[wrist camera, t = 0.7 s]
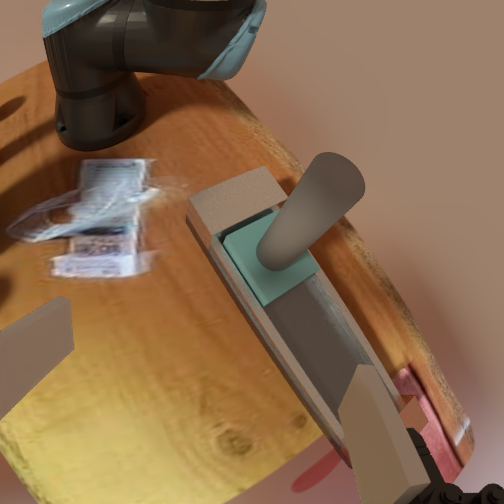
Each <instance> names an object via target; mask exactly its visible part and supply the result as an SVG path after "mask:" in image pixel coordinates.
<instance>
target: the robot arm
mask: <svg viewBox="0 0 504 504" xmlns="http://www.w3.org/2000/svg"><path fill="white" fill-rule="evenodd" d="M266 5H267V3H266V1H265V0H52V1H50V2H49V3H48V4H47V5H46V6H45V8H44V10H43V12H42V16H41V19H42V31H43V33H42V38H43V41H44V45H45V50H46V54H47V59H48V63H49V67H50V71H51V75H52V78H53V82H54V86H55V89H56V104H55V117H54V124H55V128H56V131H57V134H58V137H59V139H60V140H61V142H62V143H63V144H64V145H66V146H67V147H69V148H71V149H75V150H80V151H93V150H99V149H103V148H106V147H109V146H112V145H114V144H117V143H119V142H120V141H122V140H124V139H125V138H127V137H128V136H130V135H131V134H132V133H133V132H134V131H135V130H136V129H137V128H138V127H139V126H140V124H141V123H142V121H143V119H144V117H145V113H146V99H145V94H144V92H143V89H142V87H141V85H140V83H139V81H138V79H137V77H136V75H135V73H134V72H143V73H156V74H166V75H175V76H183V77H191V78H195V79H197V80H198V79H200V80H201V79H211V80H219V81H224V80H227V79H231V78H232V77H234V76H235V75H236V74H237V72H238V71H239V70H240V68H241V67H242V65H243V64H244V62H245V60H246V58H247V56H248V54H249V52H250V49H251V47H252V45H253V43H254V40H255V38H256V33H257V32H258V29H259V27H260V25H261V23H262V21H263V18H264V15H265V12H266ZM73 350H74V341H73V331H72V319H71V302H70V300H69V299H66V298H64V297H61V296H57V297H55V298H54V299H52V300H50V301H49V302H47V303H45V304H44V305H42V306H40V307H39V308H37V309H35V310H34V311H32V312H30V313H29V314H27V315H25V316H24V317H22V318H21V319H19V320H17V321H16V322H14V323H13V324H11V325H9V326H8V327H6V328H5V329H3V330H2V331H0V420H1V419H2V418H3V417H4V416H5V415H6V414H7V413H8V412H9V411H10V410H11V409H12V408H13V407H14V406H15V405H16V404H17V403H18V402H19V401H20V400H21V399H22V398H23V397H24V396H25V395H26V394H27V393H28V392H29V391H30V390H31V389H32V388H33V387H34V386H35V385H37V384H38V383H39V382H40V381H41V380H42V379H43V378H44V377H45V376H46V375H47V374H48V373H49V372H50V371H51V370H52V369H53V368H54V367H56V366H57V365H58V364H59V363H60V362H61V361H62V360H63V359H64V358H65V357H66V356H67V355H68V354H70V353H71V352H72V351H73ZM338 414H339V418H340V421H341V425H342V429H343V433H344V437H345V440H346V444H347V448H348V452H349V456H350V460H351V464H352V468H353V472H354V476H355V481H356V485H357V489H358V494H359V498H360V502H361V504H504V489H503V488H502V487H501V486H499V485H497V484H488V485H487V486H485V487H484V488H483V489H482V490H481V491H480V492H479V493H463V491H462V490H461V489H460V488H459V487H458V486H456V485H454V484H451V483H445V481H444V479H443V477H442V475H441V473H440V471H439V469H438V467H437V465H436V463H435V461H434V459H433V457H432V455H430V451H429V449H428V447H426V446H427V445H426V443H425V441H424V439H423V437H422V436H421V435H420V434H419V433H418V432H417V431H416V430H415V429H414V428H405V426H404V423H403V421H402V419H401V417H400V415H399V413H398V411H397V409H396V407H395V405H394V403H393V402H392V400H391V398H390V396H389V394H388V392H387V390H386V388H385V386H384V384H383V382H382V380H381V378H380V376H379V375H378V373H377V371H376V369H375V367H374V365H363V364H358V366H357V368H356V371H355V373H354V375H353V378H352V380H351V382H350V384H349V387H348V389H347V391H346V393H345V395H344V398H343V400H342V402H341V404H340V406H339V408H338Z"/></svg>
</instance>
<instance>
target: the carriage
mask: <svg viewBox="0 0 504 504" xmlns="http://www.w3.org/2000/svg"><path fill="white" fill-rule="evenodd" d="M364 192H365V183H364V179H363V176H362V175H361V173H360V171H359V170H358V168H357V167H356V166H355V165H354V164H353V163H352V162H351V161H350V160H348V159H347V158H345V157H343V156H341V155H339V154H336V153H331V152H325V153H321V154H319V155H317V156H316V157H315V158H314V159H313V161H312V162H311V164H310V165H309V167H308V168H307V170H306V171H305V173H304V174H303V176H302V177H301V179H300V181H299V182H298V184H297V185H296V187H295V188H294V190H293V191H292V193H291V194H290V196H289V197H288V199H287V200H286V202H285V203H284V205H283V206H282V208H281V209H280V210H277V211H275V212H273V213H271V214H269V215H267V216H265V217H263V218H261V219H259V220H257V221H255V222H253V223H251V224H249V225H247V226H245V227H243V228H241V229H239V230H237V231H235V232H233V233H231V234H229V235H227V236H226V238H225V240H224V243H223V245H222V246H223V248H224V249H225V251H226V252H227V254H228V256H229V257H230V259H231V260H232V262H233V263H234V265H235V267H236V268H237V270H238V271H239V273H240V274H241V276H242V277H243V279H244V281H245V282H246V284H247V285H248V287H249V288H250V290H251V291H252V293H253V295H254V296H255V298H256V299H257V301H258V302H259V304H260V305H261V307H264V306H265V305H267V304H269V303H270V302H272V301H273V300H275V299H276V298H278V297H279V296H281V295H282V294H284V293H286V292H287V291H289V290H290V289H292V288H293V287H295V286H296V285H298V284H299V283H301V282H302V281H304V280H305V279H307V278H308V277H310V276H311V275H312V274H314V273H315V272H317V271H318V270H320V268H319V266H318V265H317V263H316V262H315V260H314V259H313V258H312V256H311V255H310V253H309V252H308V250H307V249H308V248H309V247H310V246H311V245H313V244H314V243H315V242H316V241H317V240H318V239H319V238H320V237H321V236H322V235H323V234H324V233H325V232H326V231H328V230H329V229H330V228H331V227H332V226H333V225H334V224H335V223H336V222H337V221H338V220H339V219H340V218H341V217H342V216H343V215H344V214H345V213H346V212H348V211H349V209H351V208H352V207H353V206H354V205H355V204H356V203H357V202H358V201H359V200H360V199H361V198H362V197H363V195H364Z"/></svg>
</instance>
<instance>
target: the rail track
mask: <svg viewBox="0 0 504 504" xmlns="http://www.w3.org/2000/svg"><path fill="white" fill-rule="evenodd" d="M287 199H288V196H287V195H286V193H285V192H284V191H283V189H282V188H281V187H280V185H279V184H278V183H277V181H276V180H275V179H274V177H273V176H272V175H271V173H270V172H269V171H268V169H267V168H266V167H265V165H264V166H261V167H259V168H256V169H253V170H251V171H248V172H246V173H243V174H241V175H238V176H236V177H233V178H231V179H228V180H226V181H224V182H221V183H219V184H216V185H214V186H212V187H209V188H207V189H205V190H202V191H200V192H198V193H195V194H193V195H191V196H189V197H188V202H187V214H186V224H187V225H188V227H189V229H190V230H191V232H192V234H193V235H194V237H195V239H196V240H197V242H198V244H199V245H200V247H201V249H202V250H203V252H204V254H205V255H206V257H207V258H208V260H209V262H210V263H211V265H212V267H213V268H214V270H215V272H216V273H217V275H218V276H219V278H220V280H221V281H222V283H223V284H224V286H225V288H226V289H227V291H228V292H229V294H230V296H231V297H232V299H233V300H234V302H235V303H236V305H237V307H238V308H239V310H240V311H241V313H242V314H243V316H244V317H245V319H246V321H247V322H248V324H249V325H250V327H251V328H252V330H253V331H254V333H255V334H256V336H257V337H258V339H259V340H260V342H261V343H262V345H263V347H264V348H265V350H266V351H267V353H268V354H269V356H270V357H271V359H272V360H273V361H274V363H275V364H276V366H277V367H278V369H279V370H280V372H281V373H282V375H283V376H284V378H285V379H286V381H287V382H288V384H289V385H290V386H291V388H292V389H293V391H294V392H295V394H296V395H297V397H298V398H299V399H300V401H301V402H302V404H303V405H304V407H305V408H306V409H307V411H308V412H309V414H310V415H311V416H312V418H313V419H314V421H315V422H316V423H317V425H318V426H319V428H320V429H321V430H322V432H323V433H324V435H325V436H326V437H327V439H328V440H329V441H330V443H331V444H332V445H333V447H334V448H335V450H336V451H337V452H338V454H339V455H340V456H341V458H342V459H343V460H344V461H345V463H346V464H347V466H348V467H349V468H351V469H353V468H352V464H351V460H350V456H349V452H348V448H347V444H346V440H345V437H344V433H343V429H342V425H341V421H340V418H339V414H338V408H339V406H340V404H341V402H342V400H343V398H344V395H345V393H346V391H347V389H348V387H349V384H350V382H351V380H352V378H353V375H354V373H355V371H356V368H357V366H358V364H363V365H374V367H375V369H376V371H377V373H378V375H379V376H380V378H381V380H382V382H383V384H384V386H385V388H386V390H387V392H388V394H389V396H390V398H391V400H392V402H393V403H394V405H395V407H396V409H397V411H398V413H399V415H400V417H401V419H402V421H403V423H404V426H405V428H414V429H415V430H416V431H417V432H418V433H420V432H421V431H422V429H423V428H424V427H425V426H426V424H427V423H428V422H429V421H428V419H427V417H426V415H425V413H424V412H423V410H422V408H421V406H420V404H419V402H418V400H417V398H416V397H415V395H400V394H399V392H398V390H397V389H396V387H395V385H394V384H393V382H392V380H391V378H390V377H389V375H388V373H387V372H386V370H385V368H384V367H383V365H382V363H381V362H380V360H379V358H378V357H377V355H376V353H375V352H374V350H373V348H372V347H371V345H370V343H369V342H368V340H367V339H366V337H365V335H364V334H363V332H362V331H361V329H360V327H359V326H358V324H357V323H356V321H355V319H354V318H353V316H352V315H351V313H350V312H349V310H348V308H347V307H346V305H345V304H344V302H343V301H342V299H341V298H340V296H339V294H338V293H337V291H336V290H335V288H334V287H333V285H332V284H331V282H330V281H329V279H328V278H327V276H326V275H325V273H324V272H323V270H322V269H321V267H320V266H319V264H318V263H317V261H316V260H315V258H314V257H313V255H312V254H311V252H310V251H309V249H307V250H308V252H309V253H310V255H311V256H312V258H313V259H314V260H315V262H316V263H317V265H318V266H319V268H320V270H318V271H317V272H315V273H314V274H312V275H311V276H310V277H308V278H307V279H305V280H304V281H302V282H301V283H299V284H298V285H296V286H295V287H293V288H292V289H290V290H289V291H287V292H286V293H284V294H282V295H281V296H279V297H278V298H276V299H275V300H273V301H272V302H270V303H269V304H267V305H265V306H264V307H261V305H260V304H259V302H258V301H257V299H256V298H255V296H254V295H253V293H252V291H251V290H250V288H249V287H248V285H247V284H246V282H245V281H244V279H243V277H242V276H241V274H240V273H239V271H238V270H237V268H236V267H235V265H234V263H233V262H232V260H231V259H230V257H229V256H228V254H227V252H226V251H225V249H224V248H223V246H222V245H223V243H224V240H225V238H226V236H227V235H229V234H231V233H233V232H235V231H237V230H239V229H241V228H243V227H245V226H247V225H249V224H251V223H253V222H255V221H257V220H259V219H261V218H263V217H265V216H267V215H269V214H271V213H273V212H275V211H277V210H280V209H281V208H282V206H283V205H284V203H285V202H286V200H287Z"/></svg>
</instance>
